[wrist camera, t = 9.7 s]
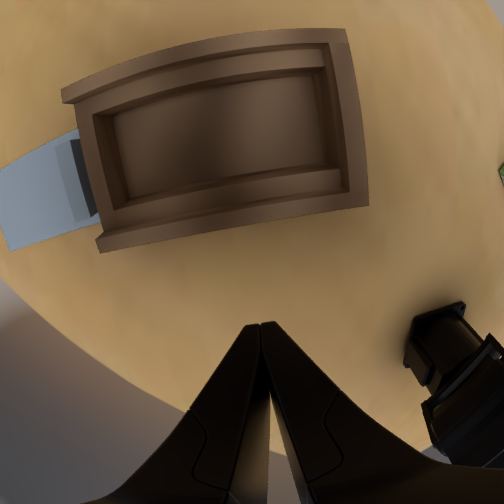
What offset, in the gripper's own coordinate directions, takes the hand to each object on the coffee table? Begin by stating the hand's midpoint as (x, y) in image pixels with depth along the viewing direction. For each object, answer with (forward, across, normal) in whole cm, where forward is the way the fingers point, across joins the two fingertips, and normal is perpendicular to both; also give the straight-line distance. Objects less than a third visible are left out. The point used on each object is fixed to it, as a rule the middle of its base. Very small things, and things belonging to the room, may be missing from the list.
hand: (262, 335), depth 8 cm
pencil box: (+11, +1, -6) cm, 13 cm away
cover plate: (+12, +14, -5) cm, 19 cm away
